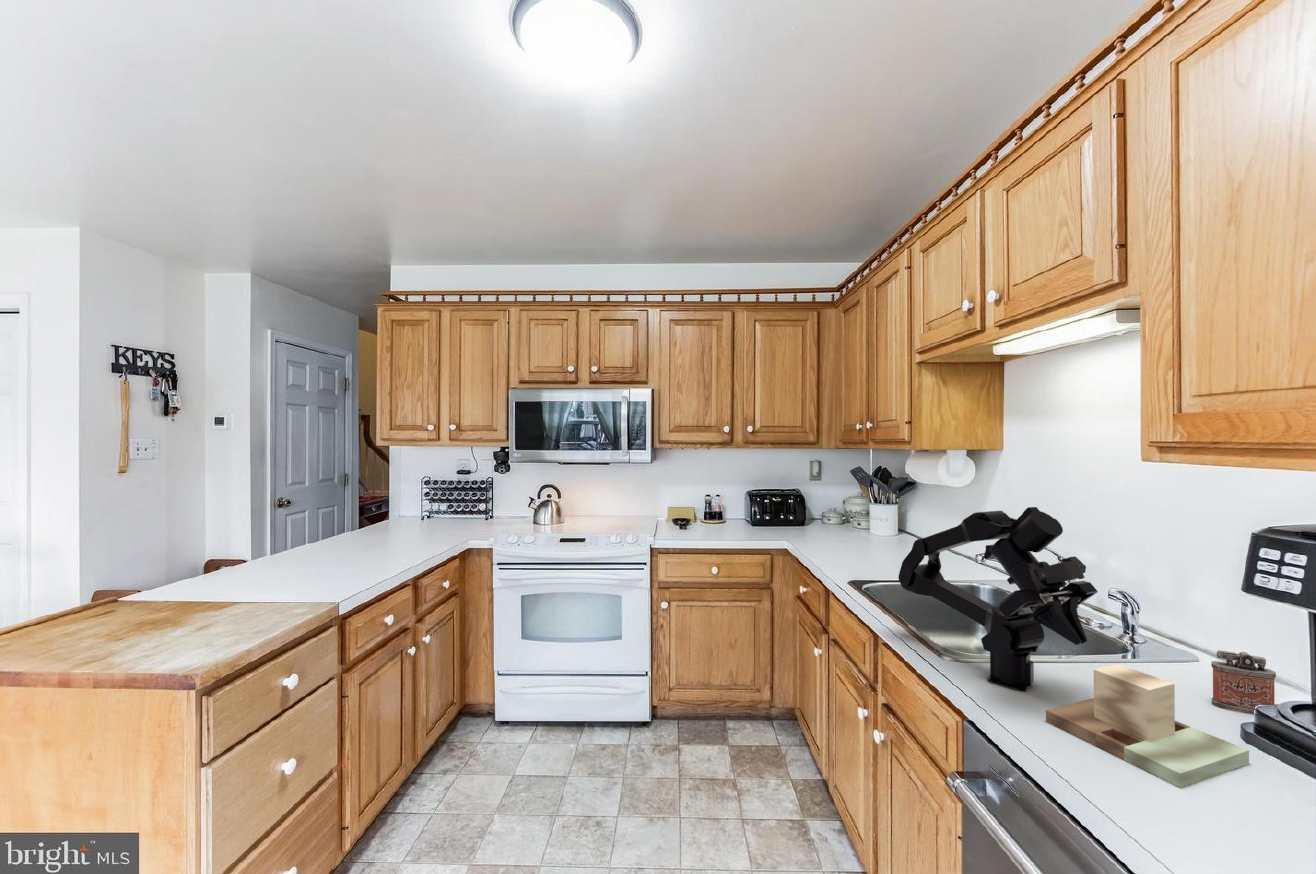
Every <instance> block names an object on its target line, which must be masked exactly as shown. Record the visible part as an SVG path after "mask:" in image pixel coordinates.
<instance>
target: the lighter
mask: <svg viewBox="0 0 1316 874" xmlns="http://www.w3.org/2000/svg"><path fill="white" fill-rule="evenodd" d="M1216 658H1218V659H1221V660H1225V661H1216V660H1215V661H1213V660H1212V661H1211V662H1210V663H1211V664H1210V665H1211V668H1212V698H1211V705H1213V707H1216V708H1219V709H1223V710H1226V711H1227V710H1228V711H1232V712H1237V713H1241V714H1248V715H1253V714H1254V710H1255V707H1256V706H1258V705H1275V704H1276V703H1275V678H1276V677H1277V672H1276V671H1274V670H1272V669H1270V668H1266V665H1267V659H1266V658H1265V657H1263V656H1259V655H1258V656H1257V655H1250V653H1248V652H1247V651H1240V652H1238V653H1236V652H1235V651H1227V650H1219V649H1218V650H1217V651H1216ZM1256 664H1257V665H1256Z"/></svg>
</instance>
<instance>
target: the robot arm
mask: <svg viewBox="0 0 1316 874" xmlns="http://www.w3.org/2000/svg"><path fill="white" fill-rule="evenodd" d="M1063 531H1064V529H1063V527H1062V524H1061V523H1060V522H1059V521H1058V520H1057V518H1055V517H1053V516H1051V515H1049V513H1046V512H1043V511H1040V509H1039V508H1038V507H1037V506H1029V507H1028V506H1027V508H1025V509H1024V511H1023V512H1022V513H1021V515H1020V516H1018V518H1014V517H1010V516H1009V515H1008V514H1007V513H1006V512H1004V511H1003V510H993V511H992V510H989V511H978V512H973V513H971V514H970V515H969V516H967V517H965V518H964V519H962V521H961V522H960V524H958V525H956V526H953V527H951V528H948V529H946V530H942V531H940V532H937V533H934V534H931V535H929V536H926V537H922V538H921V537H920V538H917V539H916V540H914V542H913V544H912V547H911V548H912V549H911V550H910V551H909V552H908V554H907V555H906V556H905V557H904V558H903V561H902V563H901V566H900V570H899V573H898V576H897V577H898V582H899V584H900V586H901V587H902V588H903V589H904V590H905V591H906V592H910V593H913V594H916V595H920V596H927V597H931V598H933V599H935V600H937V601H939V602H940V603H942V604H944V605H945V606H948V607H949V608H951V609H952V610H955V611H956V612H957V613H960V615H963V616H965V617H966V618H968V619H970V620H972V621H973V622H975V623H977V624H978V625H980V626H982V627H984V629H985V631H986V634H985V635H984V636H982V637H981V638H980V641H981V643H982V647H983V650H985V651H987V652H989V664H990V665H989V667H990V668H989V669H990V670H989V673H990V674H989V676H988V677H987V682H989V683H992V684H995V685H999V686H1003V687H1006V688H1009V689H1014V690H1016V691H1020V692H1027V690H1028V689H1029V687H1032V685H1033V684H1034V683H1035V681H1034V680H1035V678H1034V677H1035V676H1034V675H1035V673H1034V672H1035V671H1034V670H1035V669H1034V661H1033V660H1031V653H1036V652H1037V651H1038V649H1039V646H1040V645H1042V643H1043V642H1044V639H1045V632H1044V628H1043V626H1044V627H1046V628H1048V629H1050V630H1051V631H1053V632H1054V633H1056V634H1058V635H1060V637H1062V638H1063V639H1065V640H1067V641H1069V642H1070V643H1072V644H1073V645H1075V646H1078V645H1084V644H1086V643H1087V642H1088V638H1087V636H1086V633H1085V631H1084V628H1083V626H1082V622H1081V620H1080V617H1079V613H1078V606H1080V605H1082V604H1083V603H1084V602H1086V601H1087V600H1088V599H1089V600H1090V598H1091V597H1093V596H1094V595H1096V594H1097V593H1098V590H1097V589H1096V588H1095V586H1094V585H1093V584H1092V583H1091V582H1090V581H1086V580H1085V581H1084V580H1083V579H1085V578H1086V576H1085V573H1086V569H1087V566H1086V565H1085V564H1084V563H1083V562H1082V561H1081V560H1080V559H1079V558H1078V557H1077V556H1069V557H1066V558H1062V559H1061V562H1059V563H1053V564H1049V563H1048V562H1047V561H1045V560H1044V561H1038V559H1037V558H1036V557H1035V556H1034V554H1033V553H1035V554H1036V553H1040V552H1042V551H1043V550H1044V549H1046V548H1047V547H1048V546H1049V545H1050V544H1052V543H1053V542H1054V541H1055V540H1056V539H1057V538H1059V536H1061V535H1062V534H1063ZM992 540H997V541H996V542H994V543H993V544H987V545H985V551H984V555H983V559H985V560H991V559H996V560H997V561H998V562H999V564H1000V565H1001V566H1002V568H1003V569H1004V570H1005V572H1006V573H1007V574H1008V576H1009V577H1008V578H1007V579H1006V581H1007V583H1008V584H1009V585H1014V584H1015V585H1016V586H1017V588H1018V589H1019V590H1013V592H1012V593H1010V594H1009V595H1007V596H1006V597H1005V598H1004V599H1003V600H1002V601H1000V602H998V603H999V604H998V605H999V606H995V605H993V604H991V603H989V602H987V601H985V600H984V599H982V598H979V597H978V596H976V595H974V594H971V593H970V592H969V591H966V590H965V589H963V588H960V587H958V586H957V585H954V584H953V583H951V582H949V581H948V580H945V578H944V576H943V574H942V572H941V569H942V562H941V559H940V554H941V552H945V551H948V550H951V549H954V548H958V547H961V546H964V545H967V544H971V543H973V542H980V541H981V542H982V541H992ZM926 556H927V557H928V560H927V563H924V564H921V563H922V561H923V560H924V559H925V557H926ZM1077 579H1078V580H1080V581H1073V580H1077ZM1067 581H1072V582H1070V583H1069V584H1067ZM1025 608H1030V612H1029V611H1025V610H1023V609H1025ZM1042 625H1043V626H1042Z"/></svg>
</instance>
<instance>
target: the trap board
mask: <svg viewBox="0 0 1316 874" xmlns="http://www.w3.org/2000/svg"><path fill="white" fill-rule="evenodd" d="M1045 722H1046V723H1048V724H1050V725H1053V726H1054V727H1057V728H1058V729H1060V730H1062V731H1064V732H1067V733H1069V734H1070V735H1072V736H1075V737H1076V738H1079V739H1081V740H1083V741H1085V742H1087V743H1089V744H1091V745H1093V746H1094V747H1097V748H1099V749H1101V750H1103V751H1105V752H1107V753H1109V754H1111V755H1113V756H1115V757H1117V758H1119V759H1121V760H1123V761H1126V762H1128V763H1129V764H1131V765H1134V766H1135V767H1137V768H1140V769H1141V770H1143V771H1146V772H1147V773H1149V774H1152V775H1153V776H1156V777H1157V778H1160V779H1161V780H1164V781H1166V782H1168V783H1170V784H1172V785H1174V786H1176V787H1178V788H1184V787H1186V786H1191V785H1193V784H1195V783H1198V782H1201V781H1204V780H1207V779H1210V778H1213V777H1215V776H1218V775H1221V774H1223V773H1227V772H1229V771H1232V770H1235V769H1238V768H1241V767H1244V766H1246V765H1249V764H1250V750H1249V749H1246V748H1244V747H1241V746H1239V745H1237V744H1234V743H1232V742H1229V741H1226V740H1225V739H1222V738H1219V737H1217V736H1214V735H1212V734H1210V733H1207V732H1205V731H1202V730H1199V729H1197V728H1195V727H1192V726H1189V725H1187V724H1185V723H1182V722H1179V721H1177V720H1175V735H1172V736H1168V737H1165V738H1162V739H1159V740H1155V741H1152V742H1148V741H1146V740H1144V739H1142V738H1139V737H1137V736H1135V735H1133V734H1130V733H1128V732H1126V731H1124V730H1122V729H1119V728H1117V727H1115V726H1113V725H1110V724H1108V723H1106V722H1104V721H1101V720H1099V719H1097V718H1095V717H1094V697H1092V698H1087V699H1084V700H1080V701H1076V702H1073V703H1068V704H1064V705H1060V706H1056V707H1052V708H1049V709H1045Z"/></svg>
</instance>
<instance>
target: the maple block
mask: <svg viewBox="0 0 1316 874" xmlns="http://www.w3.org/2000/svg"><path fill="white" fill-rule="evenodd" d="M1175 696H1176V695H1175V683H1174V682H1171V681H1167V680H1164V679H1162V678H1159V677H1156V676H1153V675H1150V674H1147V673H1145V672H1143V671H1139V670H1136V669H1134V668H1131V667H1128V666H1125V665H1122V664H1119V663H1116V664H1112V665H1107V666H1103V667H1098V668H1094V669H1093V698H1094V717H1095V718H1097V719H1099V720H1101V721H1104V722H1106V723H1108V724H1110V725H1113V726H1115V727H1117V728H1119V729H1122V730H1124V731H1126V732H1128V733H1130V734H1133V735H1135V736H1137V737H1139V738H1142V739H1144V740H1146V741H1148V742H1152V741H1155V740H1159V739H1162V738H1165V737H1168V736H1172V735H1175V721H1176V720H1175V718H1176V717H1175V716H1176V715H1175V713H1176V712H1175V711H1176V709H1175V706H1176V703H1175V698H1176V697H1175Z"/></svg>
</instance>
